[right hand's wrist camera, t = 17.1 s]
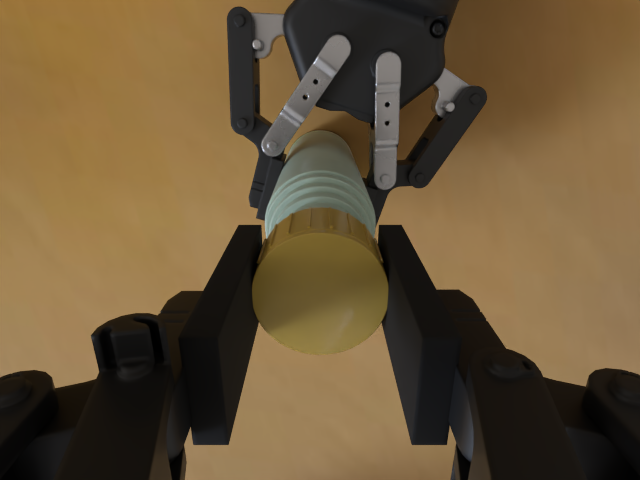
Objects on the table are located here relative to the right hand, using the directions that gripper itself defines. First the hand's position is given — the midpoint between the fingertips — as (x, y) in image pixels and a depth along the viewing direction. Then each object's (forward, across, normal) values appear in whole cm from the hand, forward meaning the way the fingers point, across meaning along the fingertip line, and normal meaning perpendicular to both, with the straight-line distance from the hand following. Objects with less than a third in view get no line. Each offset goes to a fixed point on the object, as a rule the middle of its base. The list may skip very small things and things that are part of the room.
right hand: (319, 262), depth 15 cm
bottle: (+17, 0, 0) cm, 17 cm away
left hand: (+11, -1, -2) cm, 11 cm away
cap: (-2, 0, 0) cm, 2 cm away
